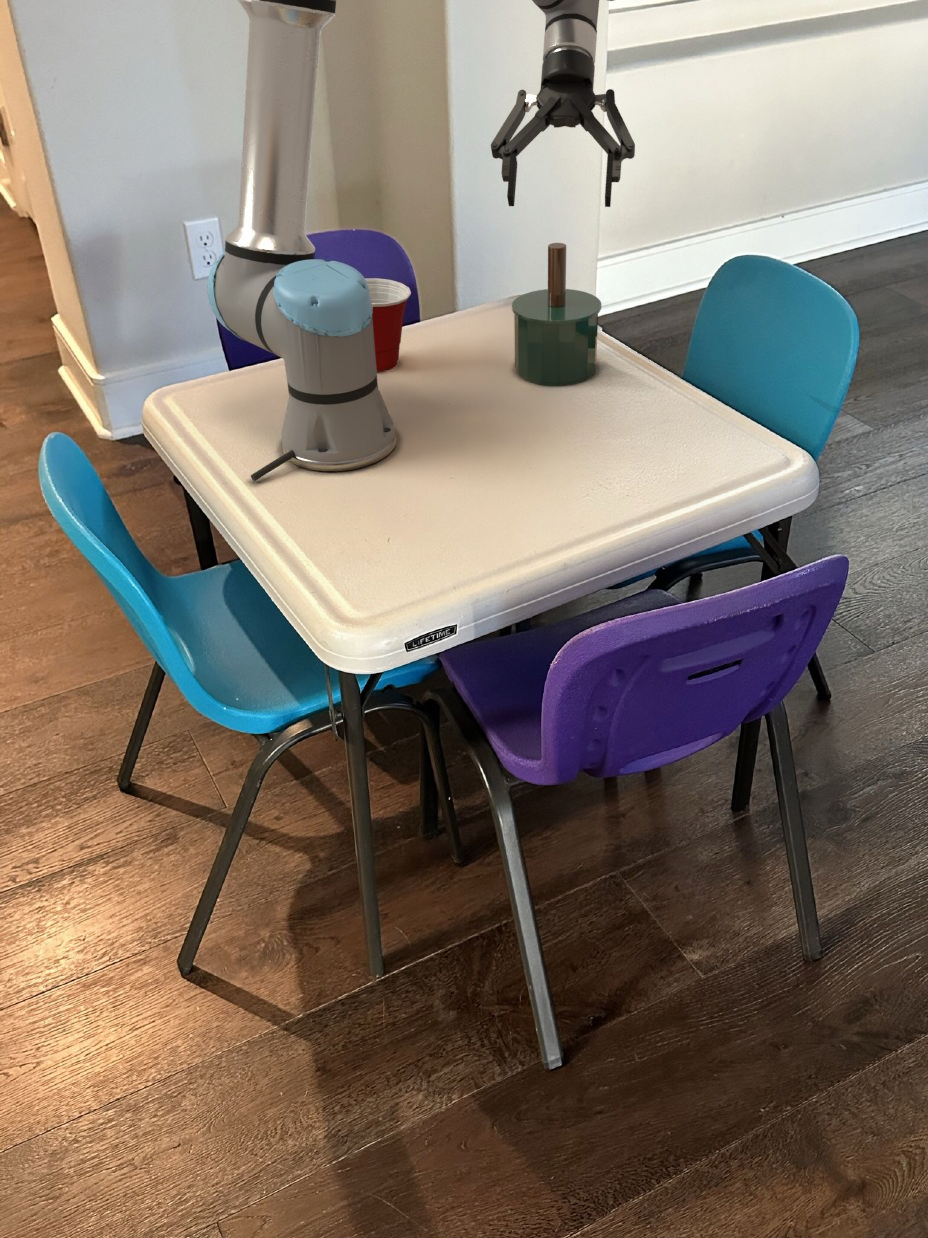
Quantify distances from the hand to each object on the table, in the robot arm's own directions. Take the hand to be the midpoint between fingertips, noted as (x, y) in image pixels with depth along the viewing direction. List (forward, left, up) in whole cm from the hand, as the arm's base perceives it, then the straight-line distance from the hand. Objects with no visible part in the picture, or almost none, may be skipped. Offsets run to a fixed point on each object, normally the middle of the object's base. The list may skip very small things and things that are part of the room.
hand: (558, 201), depth 158 cm
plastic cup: (-22, +16, -24) cm, 36 cm away
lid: (-2, -2, -14) cm, 14 cm away
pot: (-2, -2, -24) cm, 24 cm away
